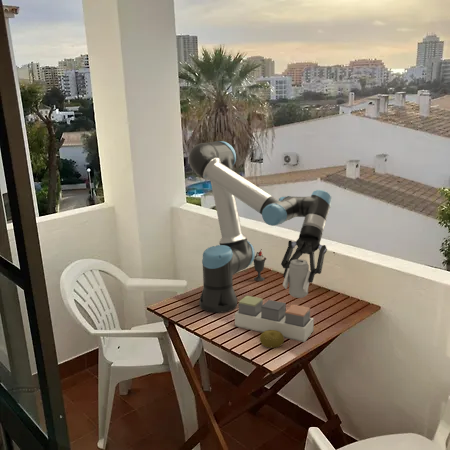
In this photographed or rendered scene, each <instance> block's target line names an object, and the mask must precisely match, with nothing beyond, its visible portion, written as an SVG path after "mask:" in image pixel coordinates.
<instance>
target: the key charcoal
mask: <svg viewBox="0 0 450 450" xmlns="http://www.w3.org/2000/svg"><path fill="white" fill-rule="evenodd" d="M286 305H287V303H286V302H284V301H283V302H282V301H276V300H272V299H268V300H267V301H266V302H265V303H263V305H262V306H261V318H263V319H268V320H273V321H277V322H280V321H281V320H282V319H283V318H284V317H285V311H286V310H287V309H286V308H287V306H286Z"/></svg>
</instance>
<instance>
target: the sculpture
mask: <svg viewBox="0 0 450 450" xmlns="http://www.w3.org/2000/svg"><path fill="white" fill-rule="evenodd" d="M284 340H285V338H284V337H283V335H282V334H281V333H280V332H279V331H276V330H267V331H264V332H263V333H262V332H261V333H260V336H259V342H260V344H261V345H262V346H264V347H266V348H269V349H275V348H278V347H281V346H282V345H283V344H284V342H285V341H284Z"/></svg>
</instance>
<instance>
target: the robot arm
mask: <svg viewBox="0 0 450 450" xmlns="http://www.w3.org/2000/svg"><path fill="white" fill-rule="evenodd" d="M236 161H237V155H236V150H235V149H234V147H233V146H232V145H231V144H230V143H228V142H226V141H223V140H222V141H220V140H217V141H210V142H200V143H198V144H196V145H195V146H193V147H192V148H191V149H190V151H189V153H188V164H189V167H190V168H191V170H192V171H193V173H195V174H196V175H197V176H199V177H200V178H202V179H203V180H205V181H210V183H211V189H212V190H211V191H212V195H213V200H214V204H215V211H216V214H217V220H218V224H219V229H220V233H221V234H220V235H221V238H220V240H219V241H218V243H219V244H217V245H211V246H210V247H207V248H206V249H205V250H204V251H203V253H202V260H201V263H202V282H203V283H202V284H203V287H202V292H201V295H200V298H199V307H200V309H202V310H203V311H206V312H209V313H226V312H229V311H233V310H235V309H236V308H237V307H238V297H237V296H236V292H235V289H234V287H233V284H234V283H233V281H234V280H233V276H234V275H236V274H238V273H239V272H240V271H242V270H243V271H244V270H246V269H247V268H248V267H249V266H251V264H252V263H254V261H253V260H254V257H255V256H256V252H255V248H254V246H253V244H252V243H251V242H250V241H249V240H248V238H247V235H245V234H243V231H242V225H241V221H240V215H239V211H238V210H239V209H238V204H237V201H236V199H238V200H239V201H241V202H243V203H244V204H245V205H246V206H248V207H250V208H252V209H253V210H254V211H255V212H257V213H259V214H260V215H261V217H262V219H263V222H264V223H265V224H266V225H268V226H271V227H274V226H278V225H279V226H280V225H282V224H283V223H285V222H287V221H290V220H292V219H295V218H304V220H303V222H302V227H300V228H301V229H300V231H299V235H298V238H297V239H296V241H292V240H288V244H287V245H288V246H287V249H286V251H285V254H284V256H283V257H282V260H281V264H280V265H281V267H282V268H283V269H284V272H283V274H282V277H283V278H284V279H283V282H282V286H283V288H284V289H285V290H287V289H288V288H289V265H290V263H291V261H292V260H295V259H300V257H301V256H302V255H304V254H306V255H309V271H308V272H307V276H306V279H305V282H304V286H303V290H304V292H307V290H308V291H309V286H310V284H312V283H313V281H314V278H315V275H318V274H319V275H320V274H322V269H323V265H324V260H325V254H326V252H327V251H328V248H327V245H325V244H323V245H322V244H321V240H322V237H323V233H324V229H325V226H326V222H327V218H328V215H329V212H330V210H331V205H332V195H331V194H330V193H329V192H328V191H326V190H325V189H316V190H314V191H313V192H312V193H311V195H310V196H290V195H287V196H281V197H279V198H278V199H277V198H275V197H274V196H272V195H271V194H270V193H267V192H266V191H265V190H263V189H261V188H260V187H258V186H257V185H255V184H253V182H251V181H249V180H248V179H246V178H245V177H243V176H241V175H240V174H238V173H237V172H235V169H234V165H235V163H236ZM296 246H297V247H296ZM295 248H296V249H295ZM294 249H295V251H294ZM318 249H319V252H318V258H317V262H315V259H316V257H315V252H316V251H317V250H318ZM293 251H294V253H293ZM292 254H293V255H292ZM316 263H317V264H316Z"/></svg>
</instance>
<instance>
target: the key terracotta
mask: <svg viewBox="0 0 450 450" xmlns="http://www.w3.org/2000/svg"><path fill="white" fill-rule="evenodd" d="M310 318H311V307H309V306H308V307H307V306H303V305H297V304H293V303H292V304H291V305H290V306H289V307H288V308H287V309H286V311H285V323H286V324H291V325H295V326H300V327H305V326H306V324H307V323H308V322H309V321H310Z"/></svg>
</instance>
